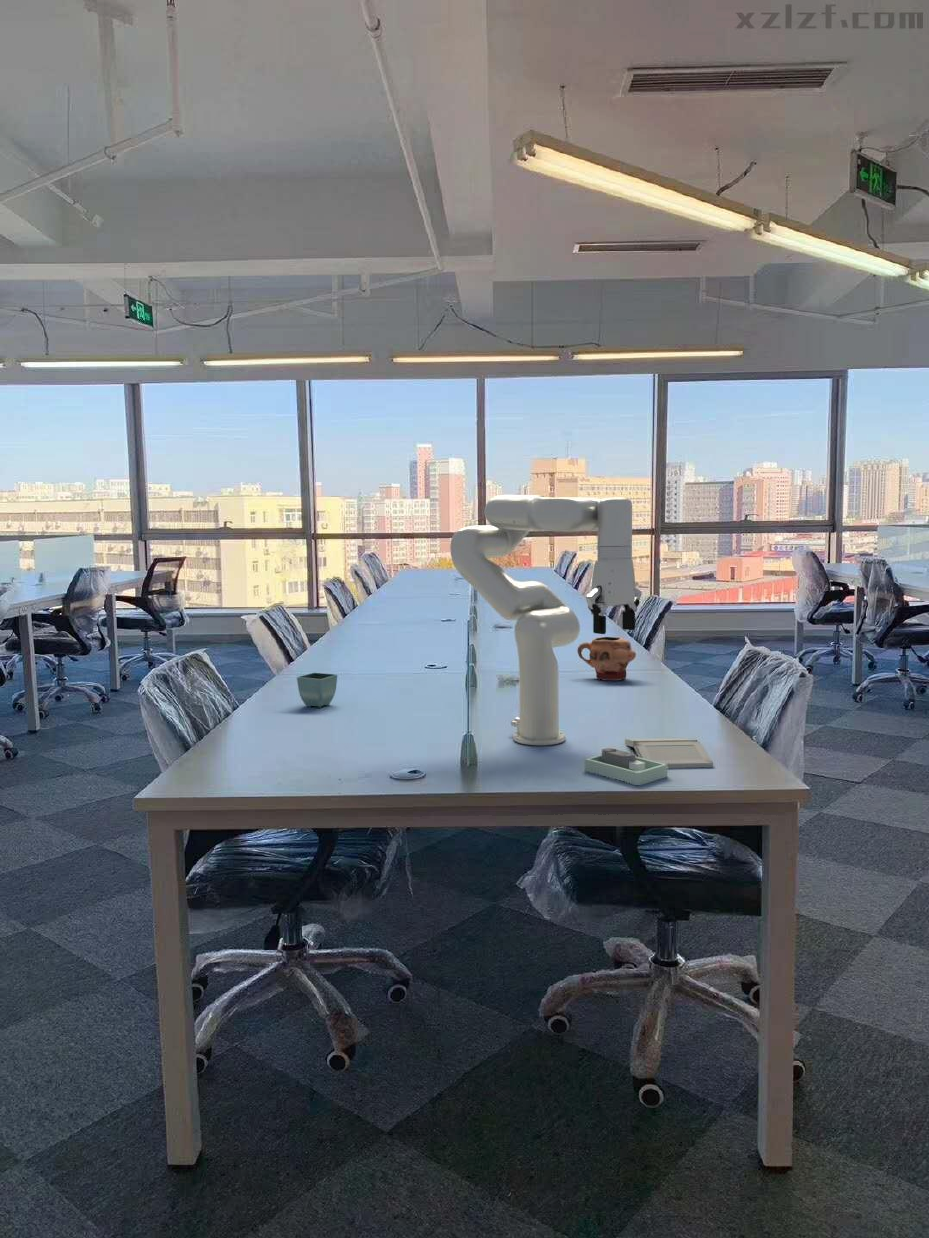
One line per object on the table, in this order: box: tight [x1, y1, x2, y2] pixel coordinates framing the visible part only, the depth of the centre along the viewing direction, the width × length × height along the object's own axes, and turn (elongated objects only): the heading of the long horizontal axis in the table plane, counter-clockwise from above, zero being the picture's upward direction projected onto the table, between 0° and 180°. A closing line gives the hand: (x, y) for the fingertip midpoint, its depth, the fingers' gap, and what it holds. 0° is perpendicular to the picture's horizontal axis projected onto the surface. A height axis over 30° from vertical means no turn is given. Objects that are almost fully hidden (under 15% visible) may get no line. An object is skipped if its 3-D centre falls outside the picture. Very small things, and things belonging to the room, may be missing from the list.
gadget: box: [624, 737, 715, 769], centre depth 201 cm, size 23×15×4 cm, turn 1°
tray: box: [584, 754, 668, 786], centre depth 185 cm, size 14×9×3 cm, turn 40°
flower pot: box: [296, 672, 338, 708], centre depth 259 cm, size 9×9×9 cm
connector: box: [601, 747, 645, 771], centre depth 186 cm, size 10×3×4 cm, turn 39°
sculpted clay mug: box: [576, 636, 637, 681], centre depth 295 cm, size 20×12×14 cm, turn 68°
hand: (614, 631), depth 197 cm, fingers open, 9 cm apart
